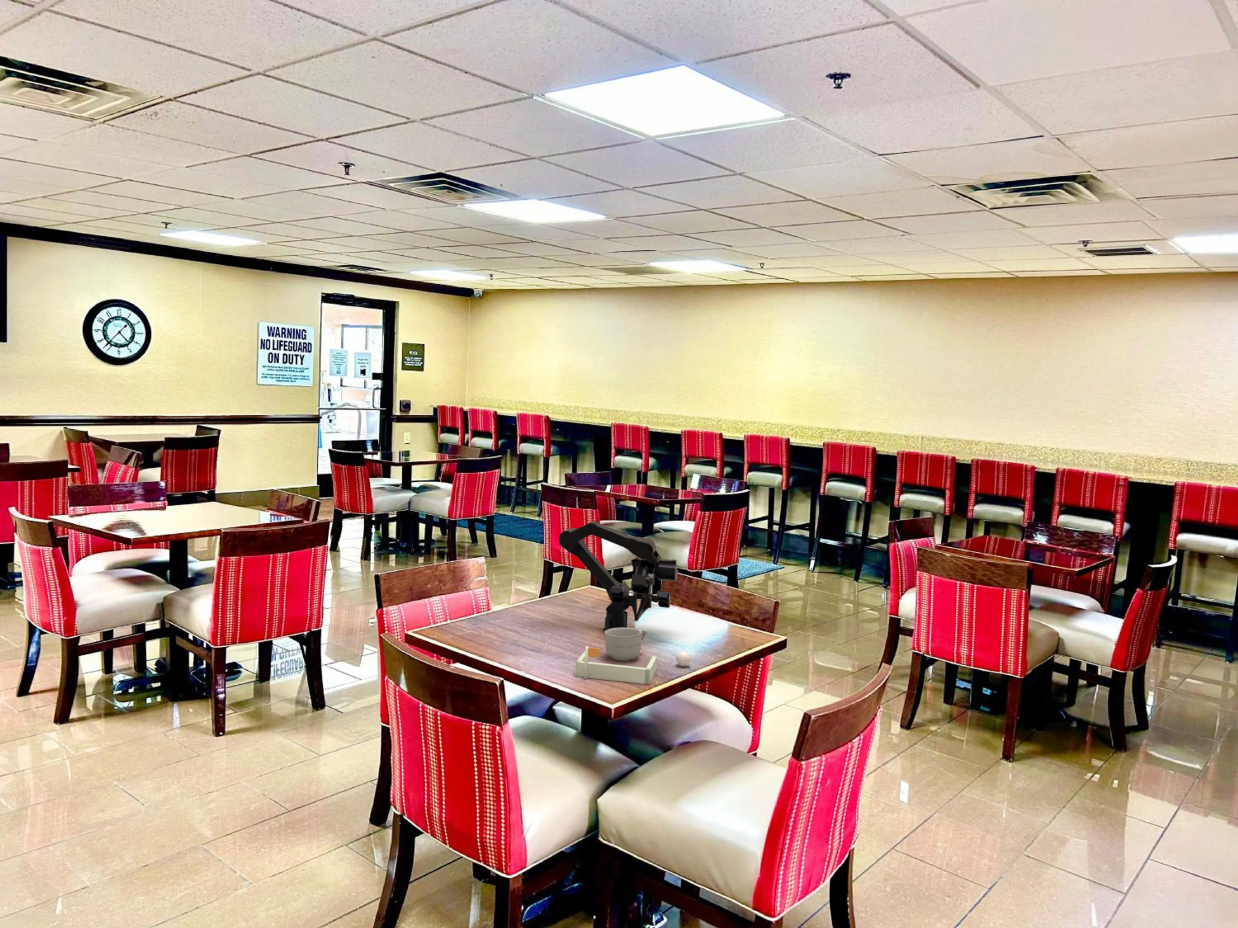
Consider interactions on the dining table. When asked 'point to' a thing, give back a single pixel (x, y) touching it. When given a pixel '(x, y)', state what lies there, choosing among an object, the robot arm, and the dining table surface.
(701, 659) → the dining table surface
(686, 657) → the golf ball
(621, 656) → the teacup
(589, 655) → the corral
